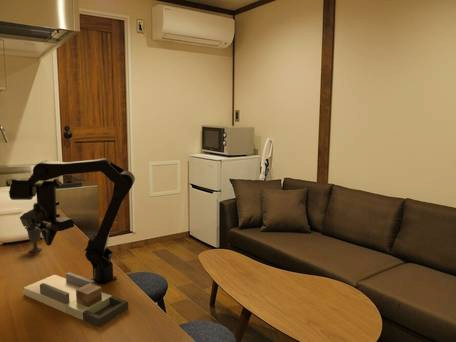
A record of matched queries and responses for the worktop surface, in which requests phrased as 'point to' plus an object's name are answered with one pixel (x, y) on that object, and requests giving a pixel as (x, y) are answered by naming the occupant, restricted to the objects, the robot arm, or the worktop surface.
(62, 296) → the lane walls
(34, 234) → the sundae
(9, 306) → the worktop surface
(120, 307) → the tray
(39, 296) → the deck
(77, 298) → the walnut block
